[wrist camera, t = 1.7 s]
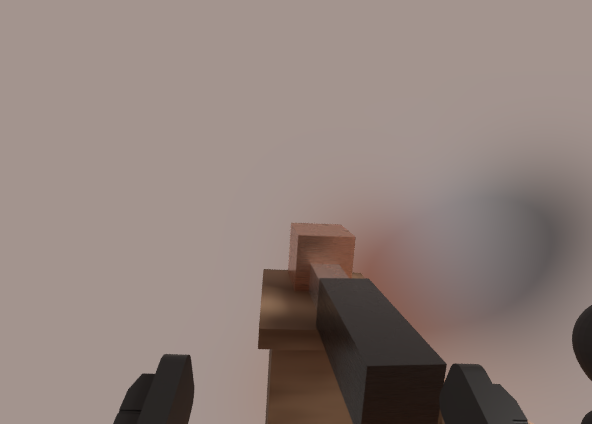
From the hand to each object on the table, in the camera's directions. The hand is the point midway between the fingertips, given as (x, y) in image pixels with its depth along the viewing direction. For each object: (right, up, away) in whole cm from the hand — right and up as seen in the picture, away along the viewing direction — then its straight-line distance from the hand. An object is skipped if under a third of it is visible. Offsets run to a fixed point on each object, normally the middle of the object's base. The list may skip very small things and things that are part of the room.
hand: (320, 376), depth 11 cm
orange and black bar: (+2, -3, +15) cm, 16 cm away
